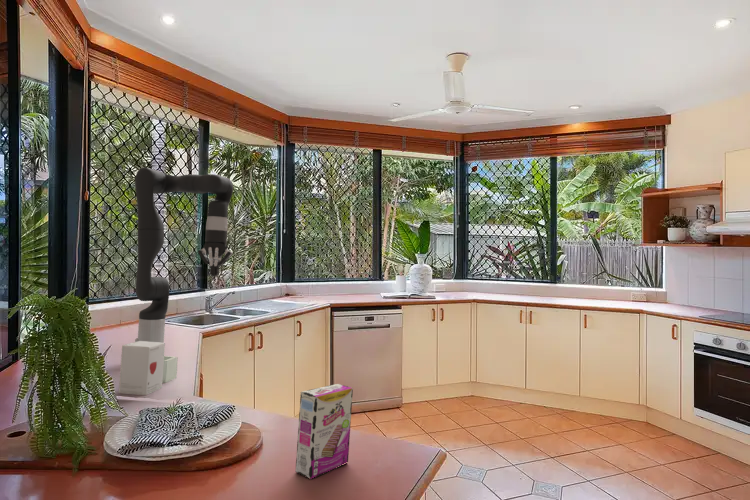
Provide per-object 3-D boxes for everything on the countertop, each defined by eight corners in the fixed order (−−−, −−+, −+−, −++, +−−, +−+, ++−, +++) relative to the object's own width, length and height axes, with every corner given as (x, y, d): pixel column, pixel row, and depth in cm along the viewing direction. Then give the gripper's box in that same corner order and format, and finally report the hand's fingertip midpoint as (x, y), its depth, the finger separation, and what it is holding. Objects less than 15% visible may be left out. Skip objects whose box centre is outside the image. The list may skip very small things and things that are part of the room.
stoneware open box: (145, 384, 156) (146, 359, 156) (156, 379, 163) (157, 355, 163) (165, 385, 156) (167, 360, 156) (176, 380, 163) (177, 356, 163)
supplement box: (146, 398, 141) (149, 347, 142) (117, 395, 142) (120, 345, 143) (163, 390, 150) (166, 342, 151) (136, 388, 151) (139, 340, 152)
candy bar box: (311, 481, 94) (315, 396, 94) (294, 473, 97) (298, 391, 97) (350, 464, 103) (354, 386, 103) (333, 457, 106) (337, 382, 106)
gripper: (237, 231, 181) (235, 277, 181) (203, 229, 182) (201, 275, 182) (230, 229, 174) (227, 277, 173) (194, 228, 175) (192, 275, 174)
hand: (214, 276), depth 178 cm, fingers closed
